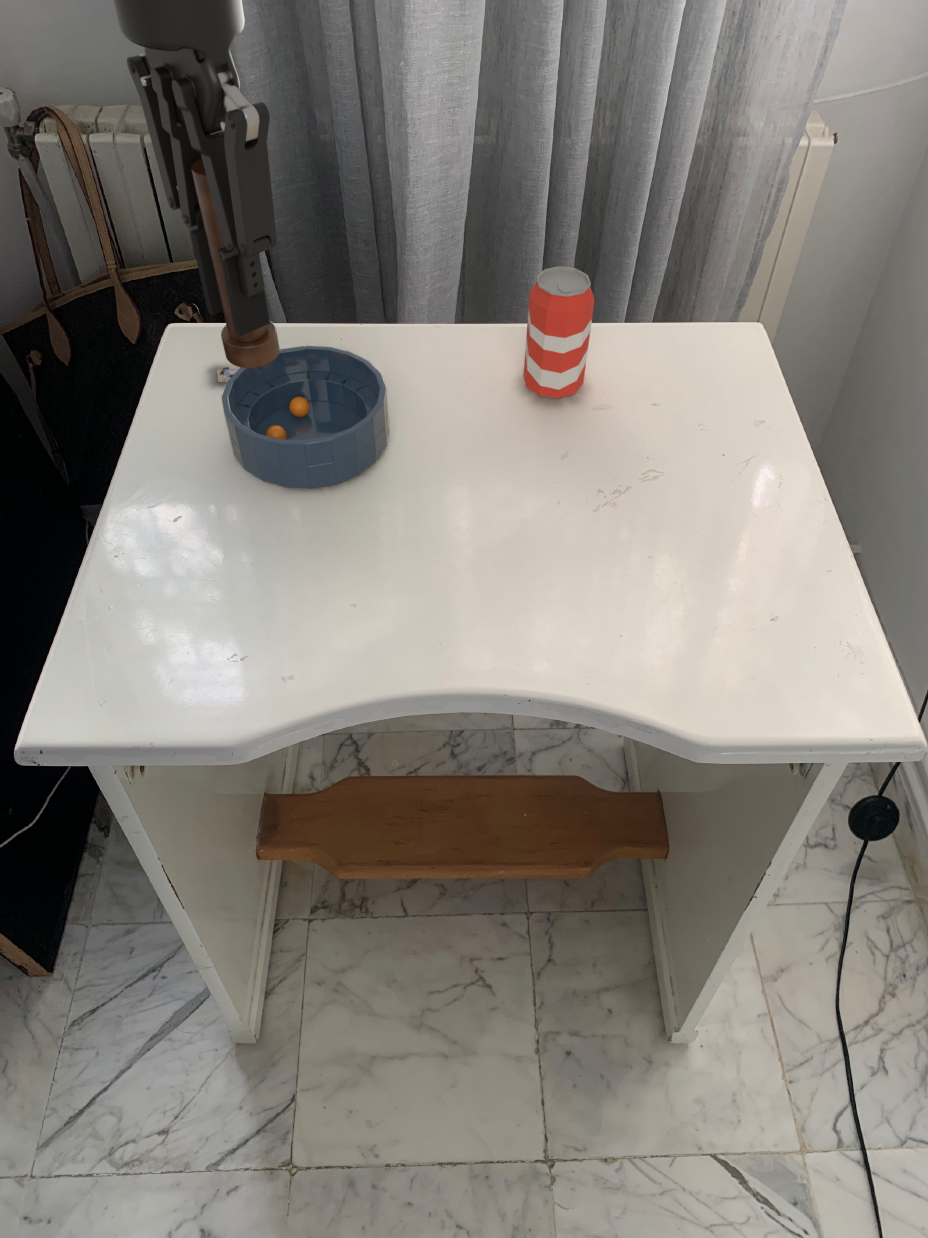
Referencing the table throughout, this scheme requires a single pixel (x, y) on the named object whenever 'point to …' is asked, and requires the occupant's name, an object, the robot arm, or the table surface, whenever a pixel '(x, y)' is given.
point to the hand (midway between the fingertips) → (238, 316)
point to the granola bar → (226, 373)
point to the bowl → (308, 417)
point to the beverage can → (558, 332)
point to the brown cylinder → (238, 349)
